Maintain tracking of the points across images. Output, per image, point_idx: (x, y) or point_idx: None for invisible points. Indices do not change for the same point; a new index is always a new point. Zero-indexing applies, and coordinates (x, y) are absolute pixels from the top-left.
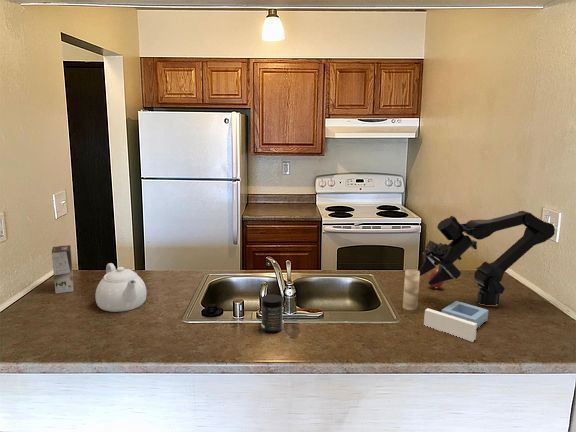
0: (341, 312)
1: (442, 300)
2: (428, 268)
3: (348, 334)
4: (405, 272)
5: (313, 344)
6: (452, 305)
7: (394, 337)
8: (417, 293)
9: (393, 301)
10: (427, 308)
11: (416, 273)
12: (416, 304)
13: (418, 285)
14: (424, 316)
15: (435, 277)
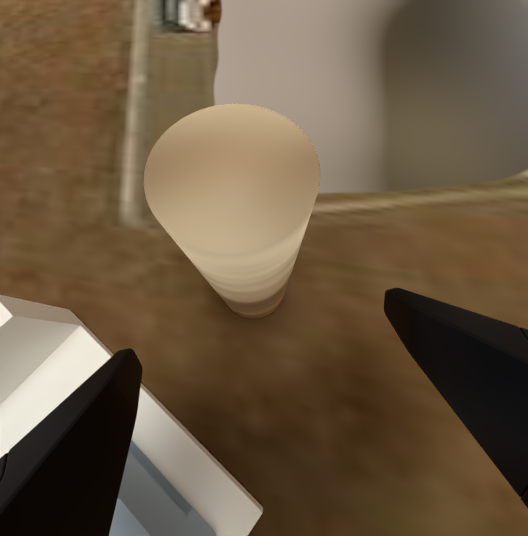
0: (206, 70)
1: (406, 499)
2: (511, 445)
3: (51, 81)
4: (224, 112)
5: (11, 17)
6: (112, 524)
7: (7, 194)
8: (217, 292)
9: (333, 233)
10: (10, 312)
11: (165, 201)
12: (227, 304)
13: (212, 282)
14: (26, 301)
15: (22, 446)
